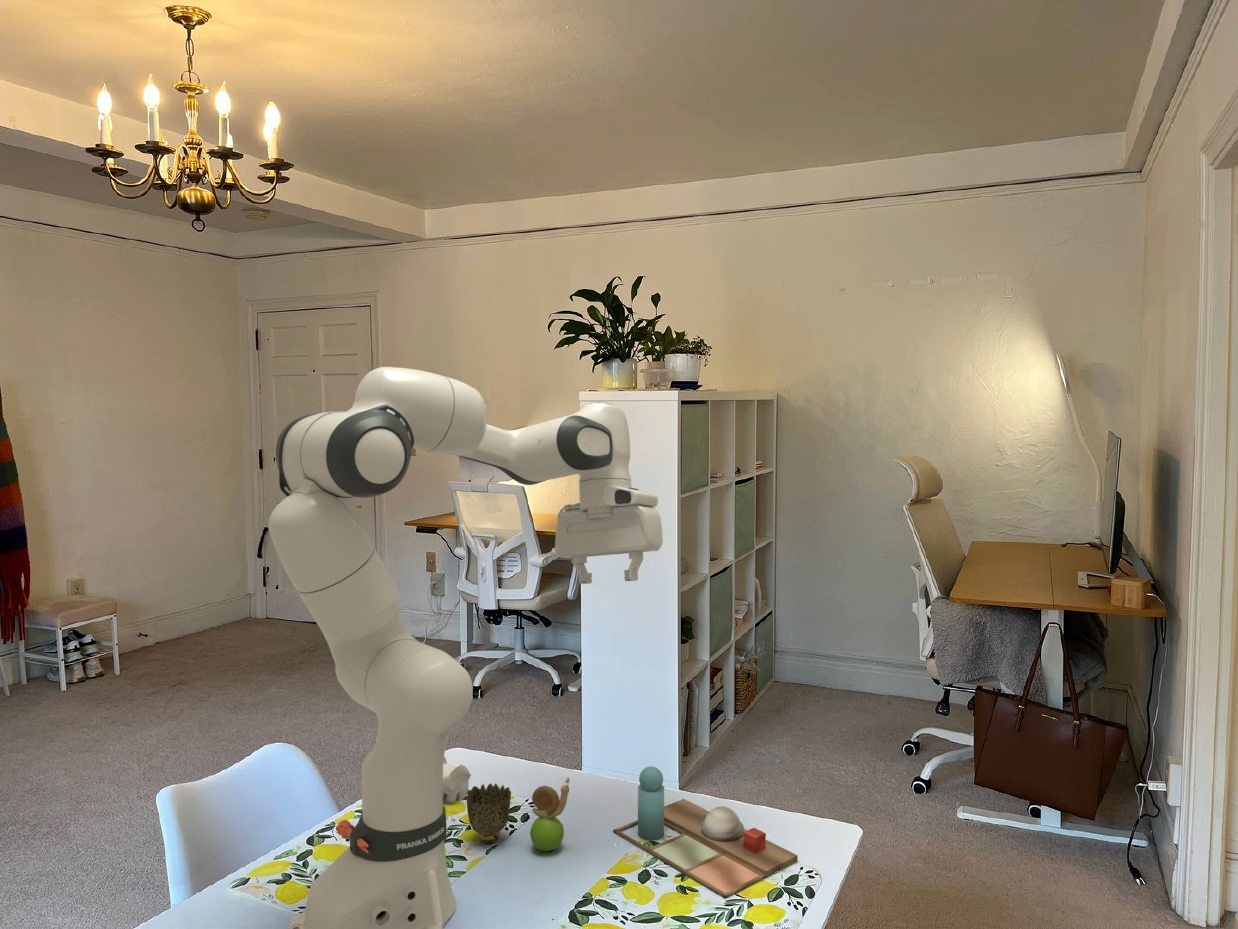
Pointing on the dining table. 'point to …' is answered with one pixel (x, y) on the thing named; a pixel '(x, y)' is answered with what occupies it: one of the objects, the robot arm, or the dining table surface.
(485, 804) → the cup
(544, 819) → the snail figurine
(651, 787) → the pawn
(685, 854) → the game board
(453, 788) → the elephant figurine
